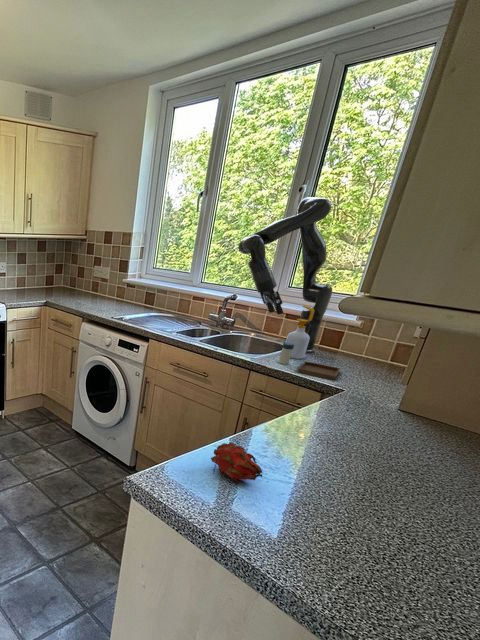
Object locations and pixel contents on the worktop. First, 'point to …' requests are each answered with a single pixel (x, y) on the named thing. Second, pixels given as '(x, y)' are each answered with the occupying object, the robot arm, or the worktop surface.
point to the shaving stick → (286, 353)
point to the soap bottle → (300, 337)
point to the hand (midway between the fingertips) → (276, 312)
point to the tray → (319, 370)
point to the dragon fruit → (236, 462)
